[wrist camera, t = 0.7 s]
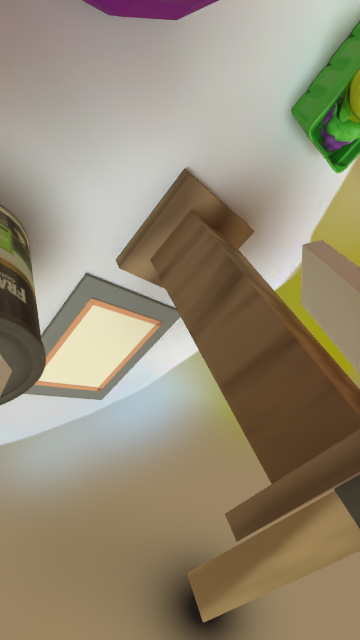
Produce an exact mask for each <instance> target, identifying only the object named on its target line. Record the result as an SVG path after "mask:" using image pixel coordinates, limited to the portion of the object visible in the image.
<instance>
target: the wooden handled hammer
mask: <svg viewBox="0 0 360 640" xmlns="http://www.w3.org/2000/svg"><path fill="white" fill-rule="evenodd" d="M334 490H335V491H333V492H331V493H329V494H328V495H326V496H324V497H322V498H321V499H319V500H317V501H315V502H313V503H312V504H310V505H308V506H306V507H305V508H303V509H301V510H299V511H297V512H296V513H294V514H292V515H290V516H289V517H287V518H285V519H283V520H281V521H280V522H278V523H276V524H274V525H273V526H271V527H269V528H267V529H266V530H264V531H262V532H260V533H258V534H257V535H255V536H253V537H251V538H249V539H248V540H246V541H244V542H243V543H241V544H239V545H237V546H235V547H234V548H232V549H230V550H228V551H226V552H225V553H223V554H221V555H219V556H217V557H216V558H214V559H212V560H211V561H209V562H207V563H205V564H203V565H201V566H200V567H198V568H196V569H194V570H193V571H191V572H189V573H188V577H189V580H190V583H191V586H192V589H193V592H194V595H195V599H196V601H197V604H198V608H199V611H200V614H201V617H202V620H203V622H205V621H207V620H210V619H212V618H214V617H216V616H219V615H221V614H223V613H225V612H227V611H230V610H232V609H234V608H236V607H238V606H240V605H243V604H245V603H247V602H249V601H251V600H253V599H256V598H258V597H260V596H262V595H264V594H267V593H269V592H271V591H273V590H275V589H278V588H280V587H282V586H284V585H286V584H288V583H291V582H293V581H295V580H297V579H299V578H302V577H304V576H306V575H308V574H310V573H313V572H314V571H317V570H319V569H321V568H323V567H326V566H328V565H330V564H332V563H334V562H337V561H339V560H341V559H343V558H345V557H348V556H350V555H352V554H354V553H356V552H359V551H360V474H359V475H357V476H356V477H354V478H352V479H350V480H349V481H347V482H345V483H343V484H341V485H340V486H338V487H336V488H334Z"/></svg>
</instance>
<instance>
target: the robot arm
mask: <svg viewBox="0 0 360 640" xmlns="http://www.w3.org/2000/svg"><path fill="white" fill-rule="evenodd" d="M301 304H302V305H303V306H304V308H305V309H306V310H307V311H308V313H309V314H310V315H311V316H312V317H313V319H314V320H315V321H316V322H317V323H318V325H319V326H320V327H321V328H322V329H323V331H324V332H325V333H326V334H327V335H328V337H329V338H330V339H331V340H332V342H333V343H334V344H335V345H336V346H337V347H338V349H339V350H340V351H341V352H342V354H343V355H344V356H345V357H346V358H347V360H348V361H349V362H350V363H351V364H352V366H353V367H354V368H355V369H356V370H357V372H358V373H359V374H360V267H359V266H357V265H356V264H354V263H353V262H352V261H350V260H349V259H347V258H346V257H345V256H343V255H342V254H341V253H339V252H338V251H336V250H335V249H334V248H332V247H331V246H330V245H328V244H327V243H325V242H324V241H323V240H321V241H316V242H312V243H308V244H304V245H303V250H302V288H301ZM11 373H12V370H11V368H10V367H9V366H8V364H7V363H6V361H5V360H4V359H3V357H2V356H1V355H0V396H1V394H2V392H3V389H4V387H5V385H6V383H7V381H8V379H9V377H10V375H11Z"/></svg>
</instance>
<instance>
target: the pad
mask: <svg viewBox="0 0 360 640" xmlns="http://www.w3.org/2000/svg"><path fill="white" fill-rule="evenodd" d="M180 317H181V316H180V314H179V312H178V311H177V309H175V308H172V307H170V306H167V305H165V304H162V303H160V302H157V301H155V300H152V299H150V298H147V297H145V296H142V295H140V294H137V293H135V292H132V291H130V290H127V289H125V288H122V287H119V286H117V285H114V284H112V283H109V282H107V281H104V280H102V279H99V278H97V277H94V276H92V275H89V274H87V273H86V274H85V276H84V277H83V278H82V280H81V281H80V283H79V284H78V285H77V287H76V288H75V289H74V291H73V292H72V294H71V295H70V296H69V298H68V299H67V301H66V302H65V303H64V305H63V306H62V307H61V309H60V310H59V312H58V313H57V314H56V316H55V317H54V319H53V320H52V321H51V323H50V324H49V326H48V327H47V328H46V330H45V331H44V332H43V334H42V335H41V341H42V343H43V345H44V349H45V354H46V364H45V368H44V371H43V373H42V375H41V377H40V379H39V380H38V381H37V382H36V383H35V384H34V385H33V386H32V387H31V388H30V389H29V390H28V391H26V392H25V393H23V394H33V395H46V396H59V397H71V398H84V399H96V400H102V399H103V398H104V397H105V396H106V395H107V394H108V393H109V392H110V391H111V389H112V388H113V387H114V386H115V385H116V384H117V383H118V382H119V381H120V380H121V379H122V378H123V377H124V376H125V375H126V374H127V373H128V372H129V370H130V369H131V368H132V367H133V366H134V365H135V364H136V363H137V362H138V361H139V360H140V359H141V358H142V357H143V356H144V355H145V354H146V352H147V351H148V350H149V349H150V348H151V347H152V346H153V345H154V344H155V343H156V342H157V341H158V340H159V339H160V338H161V337H162V336H163V335H164V333H165V332H166V331H167V330H168V329H169V328H170V327H171V326H172V325H173V324H174V323H175V322H176V321H177V320H178V319H179V318H180Z"/></svg>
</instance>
